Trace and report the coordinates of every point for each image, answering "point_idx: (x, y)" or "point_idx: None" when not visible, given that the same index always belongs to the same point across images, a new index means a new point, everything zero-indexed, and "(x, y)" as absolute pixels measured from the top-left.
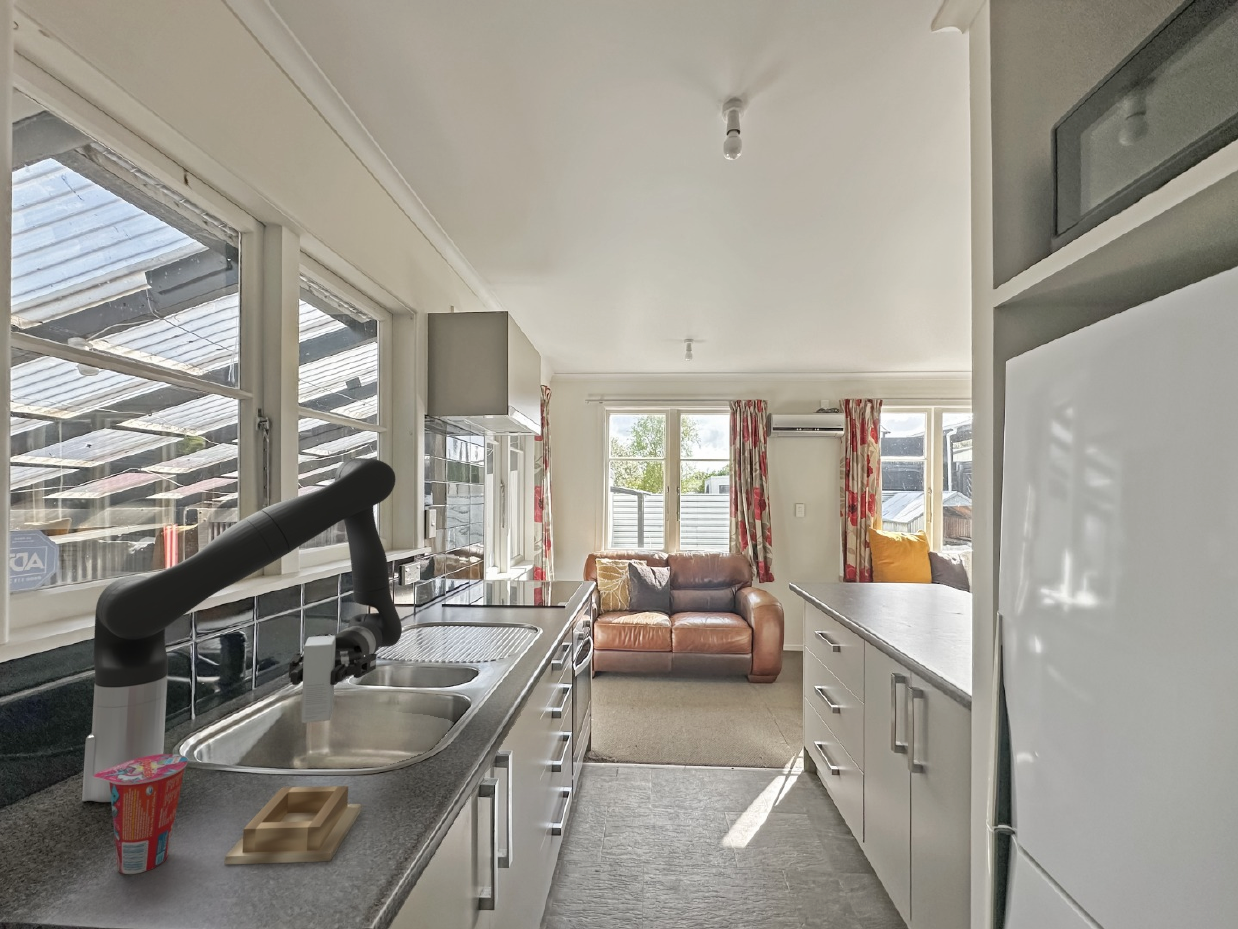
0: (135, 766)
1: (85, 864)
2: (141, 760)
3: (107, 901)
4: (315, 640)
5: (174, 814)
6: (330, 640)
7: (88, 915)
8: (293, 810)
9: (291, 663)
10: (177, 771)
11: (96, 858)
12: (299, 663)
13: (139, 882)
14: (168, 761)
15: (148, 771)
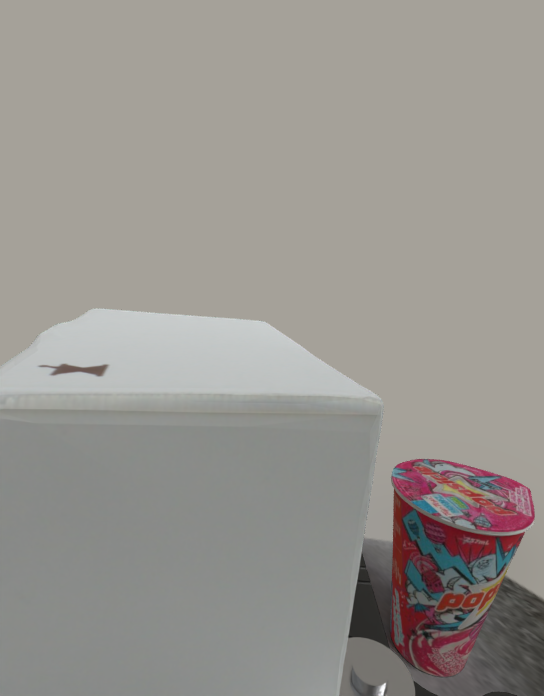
0: (487, 494)
1: (523, 651)
2: (511, 513)
3: (387, 562)
4: (229, 337)
5: (397, 575)
6: (87, 325)
7: (385, 545)
8: None
9: (502, 693)
10: (391, 477)
11: (528, 668)
12: (401, 663)
13: (382, 592)
14: (447, 503)
15: (439, 477)
